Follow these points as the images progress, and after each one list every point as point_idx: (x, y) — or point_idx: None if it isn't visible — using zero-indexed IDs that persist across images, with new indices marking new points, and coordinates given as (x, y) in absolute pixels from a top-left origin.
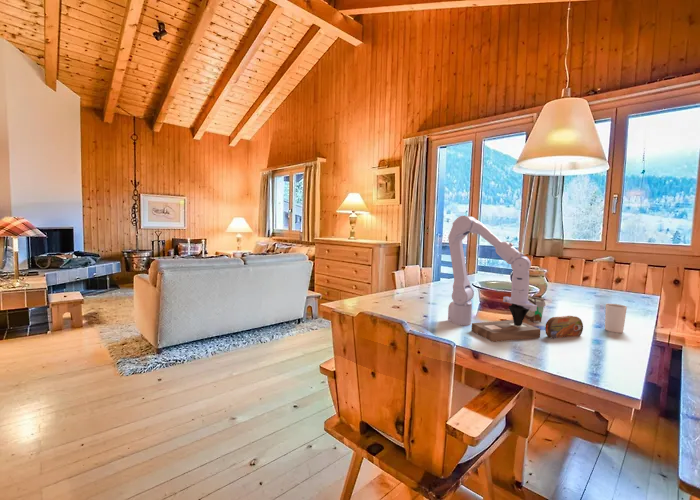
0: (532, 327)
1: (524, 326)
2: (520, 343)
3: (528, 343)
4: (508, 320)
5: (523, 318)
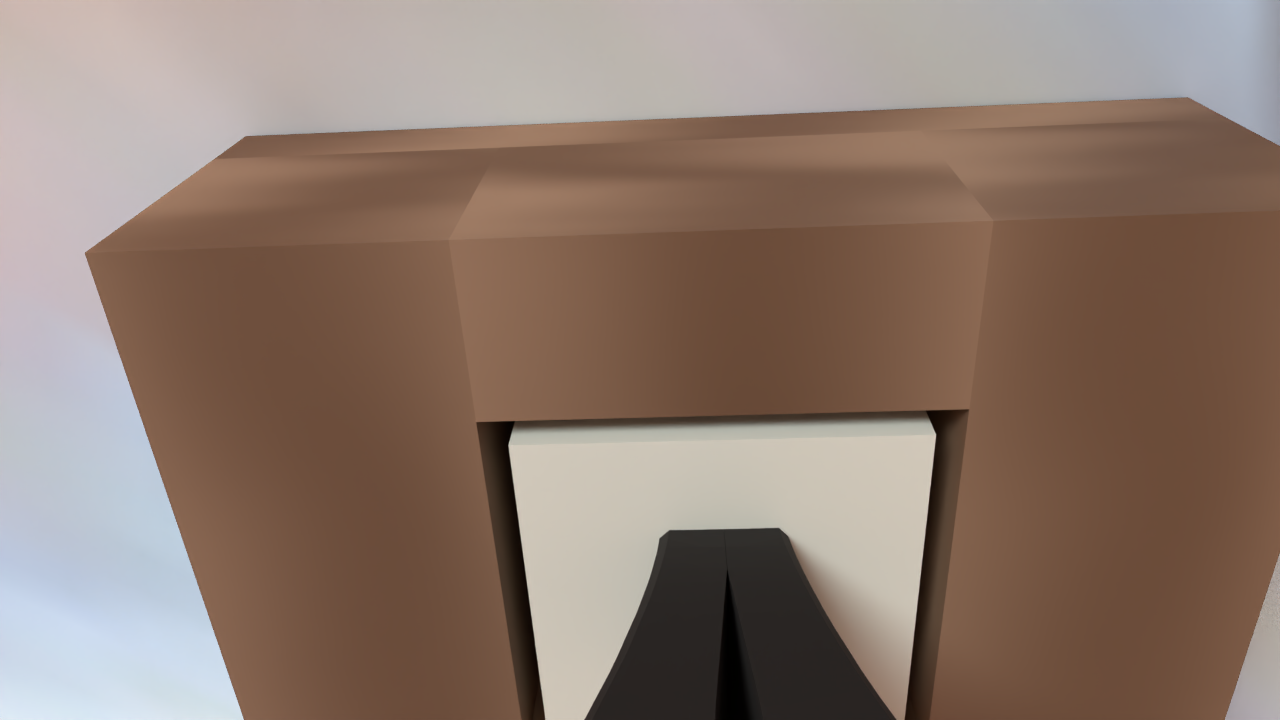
0: (1107, 351)
1: (917, 522)
2: None
3: None
4: (212, 556)
5: (877, 709)
